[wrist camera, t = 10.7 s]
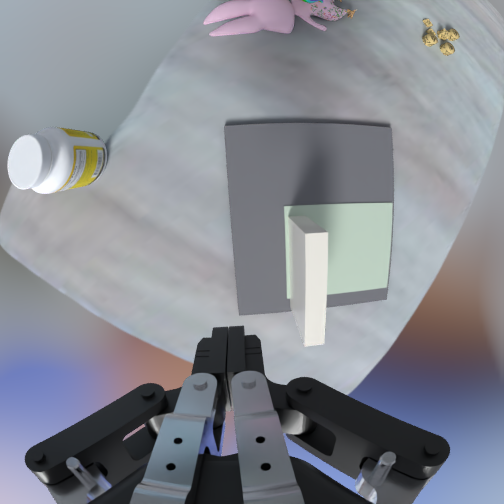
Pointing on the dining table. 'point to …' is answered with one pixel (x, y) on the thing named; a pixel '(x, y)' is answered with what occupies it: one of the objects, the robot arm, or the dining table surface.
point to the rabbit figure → (271, 15)
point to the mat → (310, 208)
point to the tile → (308, 277)
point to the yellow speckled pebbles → (442, 34)
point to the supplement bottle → (56, 160)
